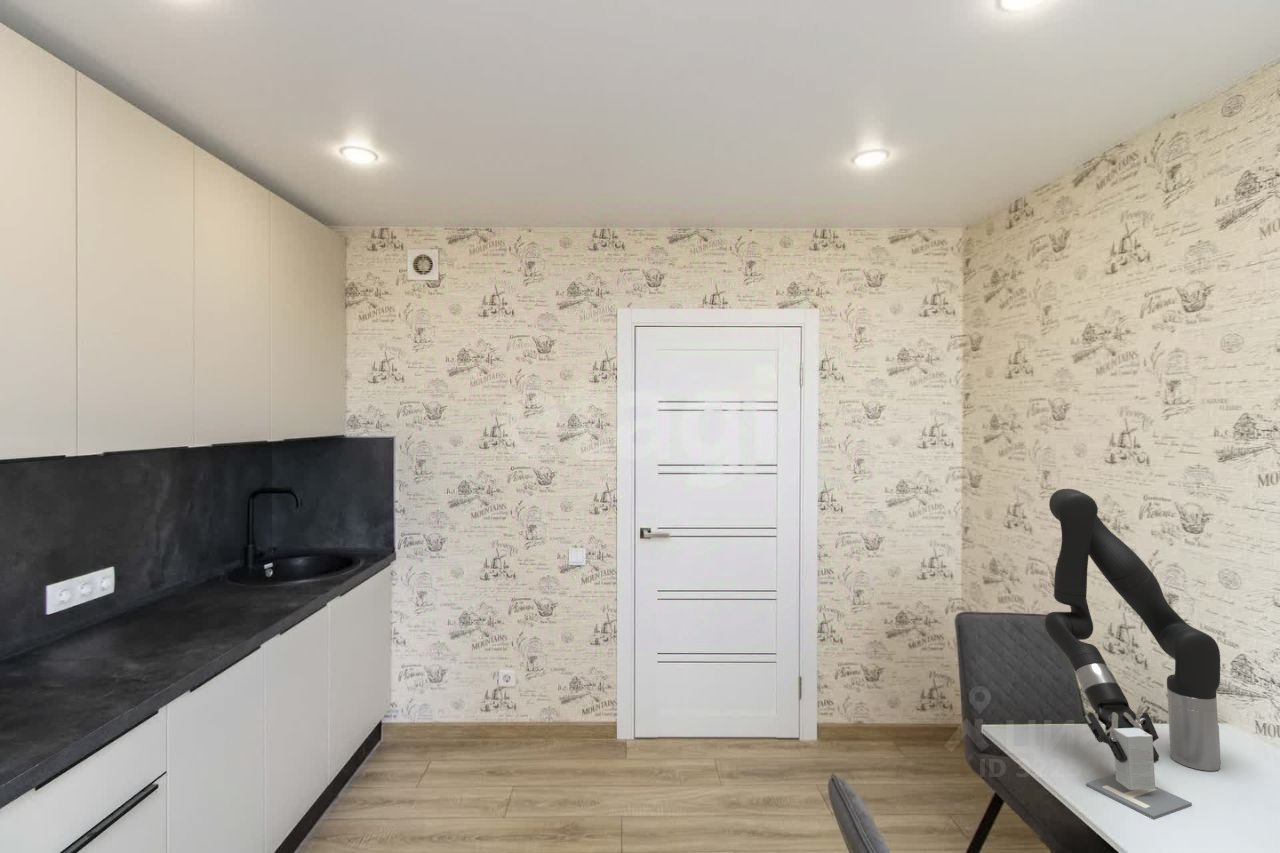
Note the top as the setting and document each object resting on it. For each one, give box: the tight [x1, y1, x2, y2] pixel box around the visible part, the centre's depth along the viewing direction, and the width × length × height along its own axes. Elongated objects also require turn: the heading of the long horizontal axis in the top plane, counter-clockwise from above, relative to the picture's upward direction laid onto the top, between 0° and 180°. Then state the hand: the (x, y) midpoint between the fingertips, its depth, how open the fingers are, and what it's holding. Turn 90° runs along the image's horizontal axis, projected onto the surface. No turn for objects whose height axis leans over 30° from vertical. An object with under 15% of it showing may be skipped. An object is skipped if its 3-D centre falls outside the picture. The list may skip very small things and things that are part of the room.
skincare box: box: [1114, 728, 1156, 790], centre depth 140 cm, size 6×4×12 cm
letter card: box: [1085, 773, 1193, 820], centre depth 139 cm, size 13×14×1 cm
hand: (1139, 761), depth 138 cm, fingers closed on skincare box, 6 cm apart
